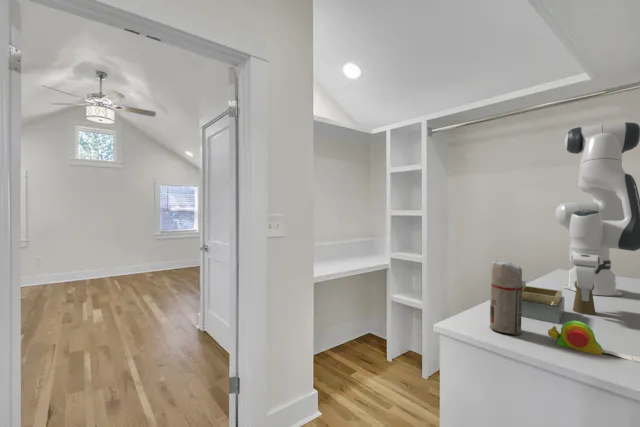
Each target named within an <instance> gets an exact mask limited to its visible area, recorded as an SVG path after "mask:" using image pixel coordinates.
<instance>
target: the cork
mask: <svg viewBox="0 0 640 427" xmlns="http://www.w3.org/2000/svg"><path fill="white" fill-rule="evenodd" d="M574 285H575V288H576V291H575V294H574V301H573V305H572V306H573V307H572V312H575V313H576V314H582V315H587V316H588V315H589V316H594V315H596V307H595V302H594V296H593V294H592V290H593V289H594V284H593V288H592V289H591V290H589V301H583V300H582V294H581V288H578V286H577V281H575V283H574Z"/></svg>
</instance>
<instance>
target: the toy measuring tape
mask: <svg viewBox="0 0 640 427" xmlns="http://www.w3.org/2000/svg"><path fill="white" fill-rule="evenodd" d="M547 334H548V336H549V337H550V338H552V339H556V344H557V346H562V347H566V348H570V349H574V350H577V351H581V352H584V353H590V354H594V355H600V356H603V354H609V355H613V356H615V357H618V358H621V359H624V360H626V361H627V360H628V361H631V362H636V363H640V357H638V356H634V355H629V354H623V353H618V352H614V351H610V350H609V351H608V350H604V349H603V347H602V345H601V344H600V343H599V341H597V339H596V336H595V333H594V331H593V329H592V328H591V326H589V325H588V324H586V323H584V322H582V321H578V320H569V321H567V322H564V323H563V325H562V326H561V328H560V332H559V331H558V329H557V326H556V325H553V326H552V328H549V329H548V330H547Z"/></svg>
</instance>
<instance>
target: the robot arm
mask: <svg viewBox="0 0 640 427" xmlns="http://www.w3.org/2000/svg"><path fill="white" fill-rule="evenodd" d="M639 143H640V125H639V124H638V123H637V122H627V121H626V122H622V123H619V122H618V123H617V122H615V123H613V122H612V123H611V122H610V123H602V124H594V125H588V126H584V127H583V126H582V127H581V126H577V127H574V128H571V129H570V130H568V133H567V134H566V135H565V138H564V147H565V148H566V151H567V152H568V153H570V154H577V155H579V154H582V155H581V157H580V162H579V166H578V168H579V169H578V170H579V171H578V177H577V178H578V180H577V181H578V182H577V186H578V188H579V190H581V191H582V192H584V193H587V194H589V195H591V196H592V201H591V200H590V201H586V200H585V201H568V202H564V203H560V204H559V205H557V207H556V209H555V212H554V218H555V219H556V221H557V222H558V223H559V224H560V225H561V226H563V227H564V228H566V229H567V230H568V232H569V233H568V235H569V239H570V244H569V246H568V247H569V248H568V250H569V252H568V254H569V255H568V258H569V260H568V261H569V262H570V263H572V265H573V267H572V268H570V269H569V271H568V274H569V275H568V283H567V284H564V285H563V288H564V289H567V290H571V291H574V292H576V288H575V285H574V283H575V281H577V286H578V288H581V294H582V300H583V301H589V290H591V289H592V288H593V284H594V289H593V290H592V294H593V295H594V296H608V297H609V296H610V297H611V296H618V297H620V296H623V292H621V291H620V290H618V289H617V288H616V287H617V283H616V280H617V279H616V274H614V272H612V270H611V269H612V261H611V260H610V249H617V250H623V251H630V252H636V251H638V250H640V194H639V190H638V186H637V183H636V181H635V178H634V177H633V175H631V174H629V173H627V172H626V171H625V170H624V168H623V154H624V153H625V152H628V151H631V150H633V149H635V148H636V147H638V145H639ZM618 195H619V196H620V197H619V196H618Z"/></svg>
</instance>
